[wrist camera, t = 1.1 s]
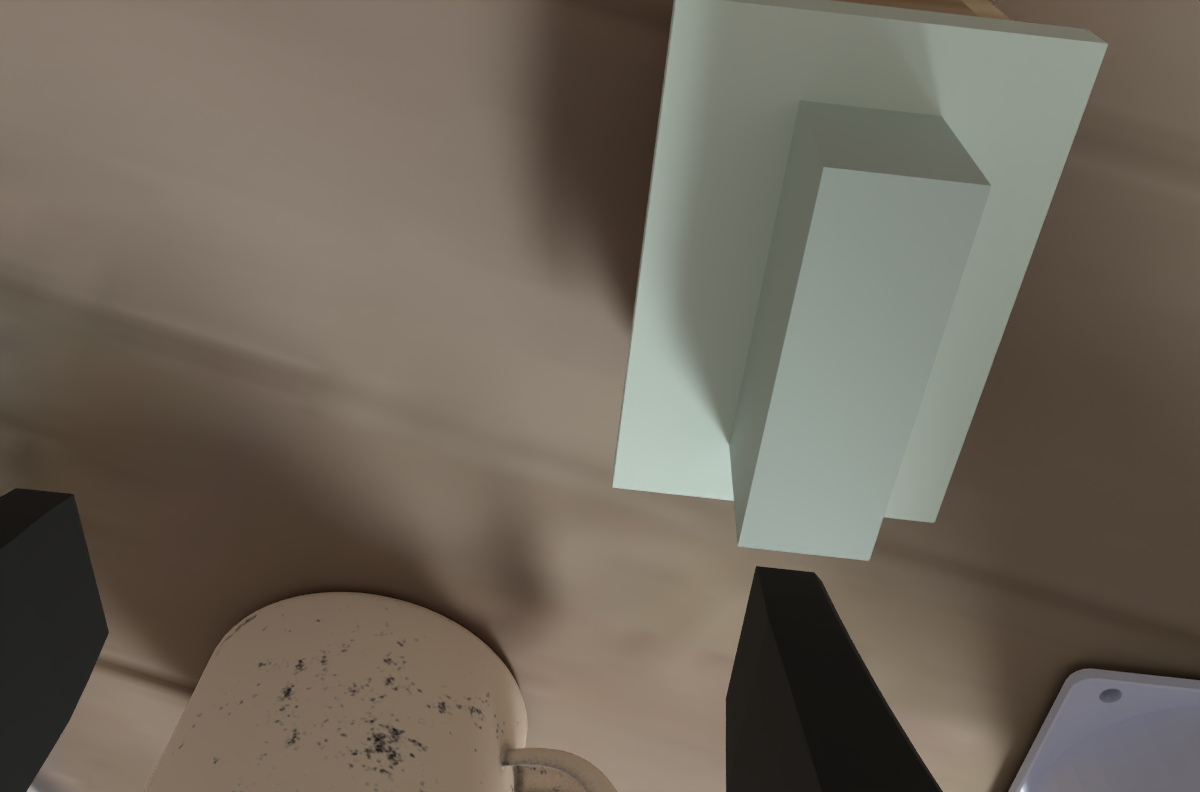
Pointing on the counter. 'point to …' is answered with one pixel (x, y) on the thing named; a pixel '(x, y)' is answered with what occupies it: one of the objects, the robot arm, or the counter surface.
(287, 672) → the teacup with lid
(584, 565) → the counter surface
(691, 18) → the lid
